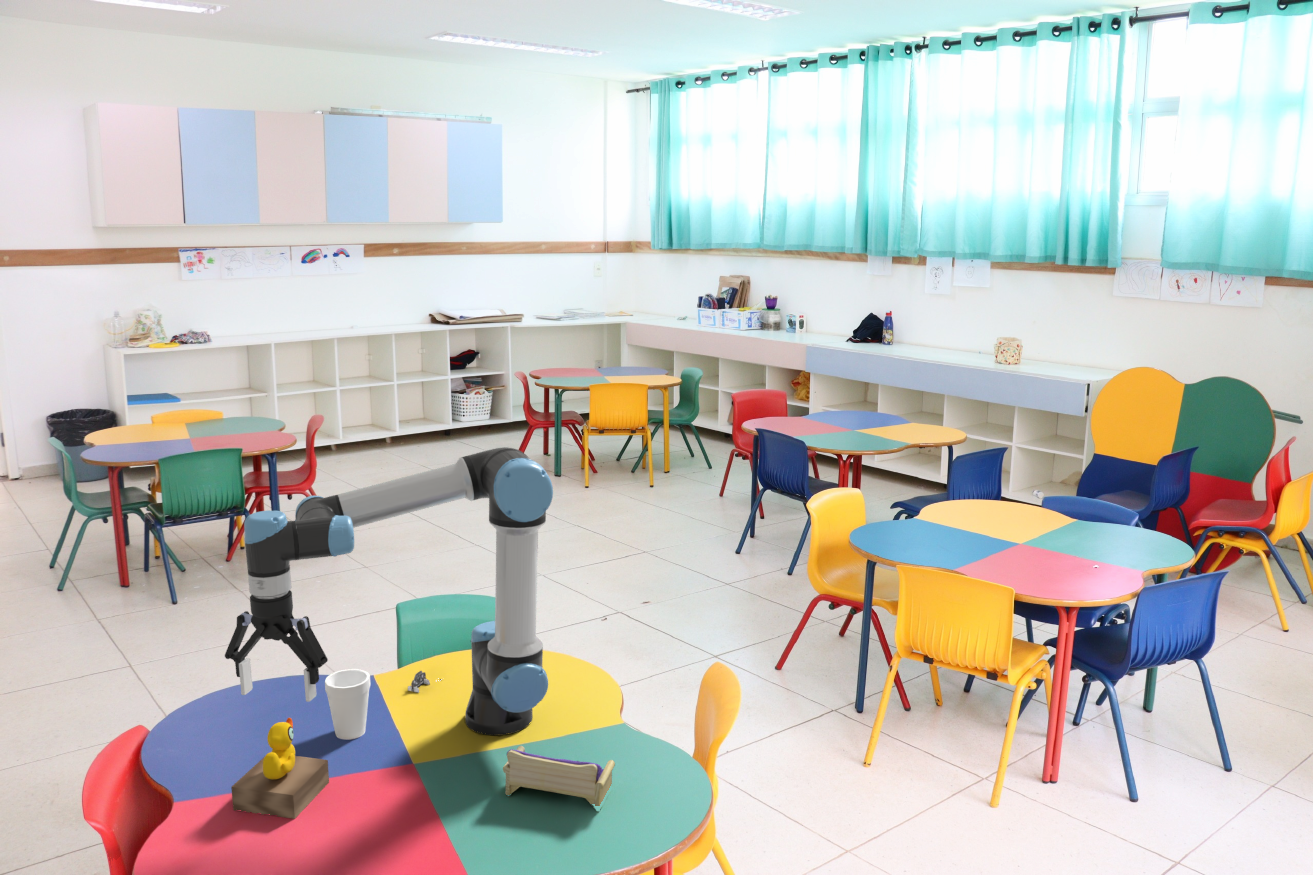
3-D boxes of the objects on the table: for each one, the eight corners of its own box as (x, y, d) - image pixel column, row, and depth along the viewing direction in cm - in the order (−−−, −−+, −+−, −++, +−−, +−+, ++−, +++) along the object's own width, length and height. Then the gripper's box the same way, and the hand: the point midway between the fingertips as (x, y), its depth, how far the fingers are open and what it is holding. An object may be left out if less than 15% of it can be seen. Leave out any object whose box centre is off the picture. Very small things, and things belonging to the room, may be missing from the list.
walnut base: (329, 782, 207) (327, 759, 206) (294, 818, 195) (293, 795, 194) (270, 774, 210) (269, 752, 208) (233, 810, 197) (231, 786, 196)
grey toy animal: (423, 697, 244) (422, 680, 243) (399, 693, 247) (398, 675, 246) (456, 672, 258) (455, 655, 257) (433, 667, 260) (432, 651, 259)
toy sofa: (615, 790, 206) (616, 744, 204) (602, 814, 198) (602, 766, 196) (518, 774, 211) (518, 729, 209) (502, 797, 203) (501, 750, 201)
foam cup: (378, 723, 231) (376, 670, 228) (363, 744, 222) (360, 689, 219) (338, 720, 232) (335, 667, 229) (321, 741, 223) (317, 686, 220)
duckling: (279, 756, 207) (276, 711, 205) (305, 757, 207) (302, 712, 205) (255, 787, 196) (252, 740, 194) (283, 788, 196) (280, 741, 194)
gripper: (199, 594, 193) (209, 697, 197) (321, 604, 188) (328, 710, 193) (222, 580, 200) (232, 680, 205) (341, 590, 195) (347, 692, 200)
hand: (279, 695), depth 199 cm, fingers open, 13 cm apart
